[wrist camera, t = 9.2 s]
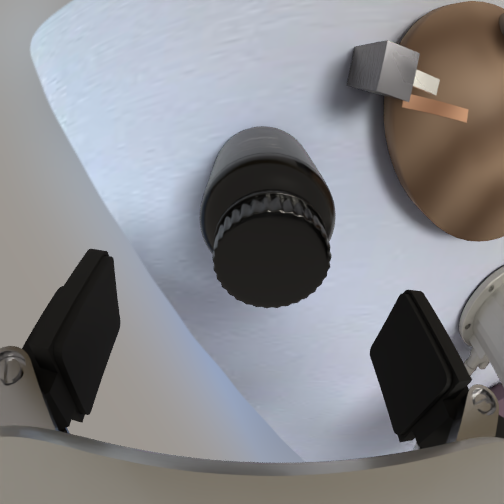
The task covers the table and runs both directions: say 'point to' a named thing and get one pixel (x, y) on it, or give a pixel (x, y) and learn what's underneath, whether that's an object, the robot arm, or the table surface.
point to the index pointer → (389, 71)
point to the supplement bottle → (267, 219)
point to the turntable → (454, 121)
